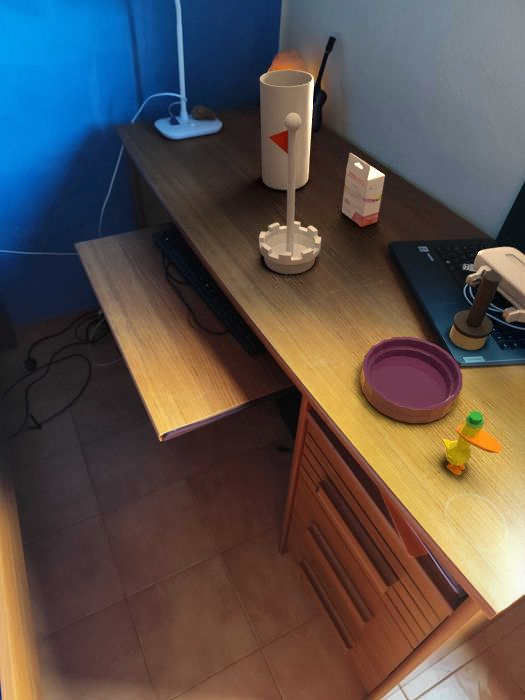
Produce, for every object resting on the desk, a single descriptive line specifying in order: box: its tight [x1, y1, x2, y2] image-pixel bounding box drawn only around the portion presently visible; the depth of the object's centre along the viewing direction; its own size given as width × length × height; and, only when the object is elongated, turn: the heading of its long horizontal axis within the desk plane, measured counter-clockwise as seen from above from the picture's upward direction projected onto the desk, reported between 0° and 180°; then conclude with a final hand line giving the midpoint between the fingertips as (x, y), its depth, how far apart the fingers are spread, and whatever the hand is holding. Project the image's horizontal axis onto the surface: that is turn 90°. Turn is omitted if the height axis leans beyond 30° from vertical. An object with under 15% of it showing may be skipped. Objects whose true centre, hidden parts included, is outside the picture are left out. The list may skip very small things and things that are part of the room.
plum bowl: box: [359, 336, 464, 424], centre depth 75 cm, size 15×15×4 cm
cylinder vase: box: [259, 69, 315, 191], centre depth 117 cm, size 12×12×25 cm
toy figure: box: [441, 410, 503, 476], centre depth 61 cm, size 7×4×12 cm, turn 48°
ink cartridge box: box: [341, 152, 386, 228], centre depth 107 cm, size 9×5×15 cm, turn 27°
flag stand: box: [258, 113, 322, 275], centre depth 90 cm, size 13×13×30 cm
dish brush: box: [449, 272, 501, 351], centre depth 78 cm, size 6×6×14 cm
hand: (486, 298), depth 77 cm, fingers open, 8 cm apart
